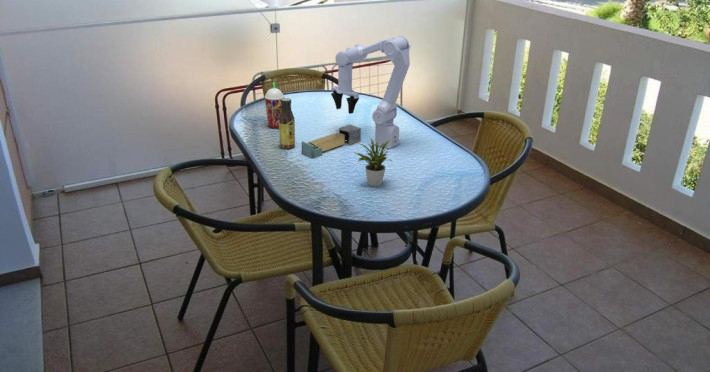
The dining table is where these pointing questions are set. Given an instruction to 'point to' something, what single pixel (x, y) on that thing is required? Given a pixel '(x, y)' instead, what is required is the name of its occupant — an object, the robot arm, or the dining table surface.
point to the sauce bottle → (286, 125)
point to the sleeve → (351, 134)
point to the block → (328, 141)
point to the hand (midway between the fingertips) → (344, 111)
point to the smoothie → (273, 106)
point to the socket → (310, 150)
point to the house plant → (375, 163)
